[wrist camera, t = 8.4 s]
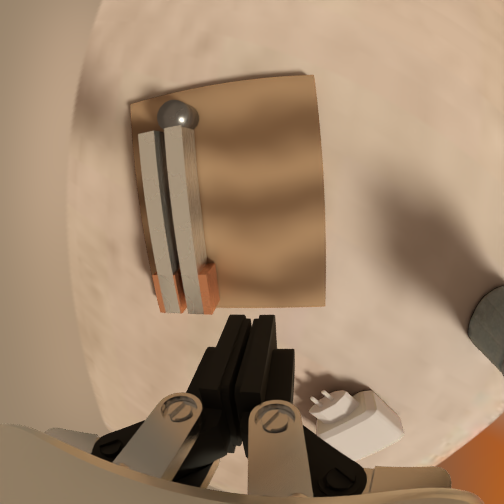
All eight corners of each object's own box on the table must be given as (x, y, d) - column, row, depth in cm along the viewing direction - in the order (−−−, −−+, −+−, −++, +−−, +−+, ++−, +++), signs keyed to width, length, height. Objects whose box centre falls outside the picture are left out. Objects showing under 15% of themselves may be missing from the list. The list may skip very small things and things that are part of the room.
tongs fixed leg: (148, 137, 25) (132, 135, 22) (170, 132, 25) (155, 130, 22) (171, 299, 30) (160, 312, 27) (192, 299, 30) (182, 313, 27)
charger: (346, 362, 31) (399, 413, 33) (288, 396, 34) (348, 440, 36) (351, 388, 27) (405, 437, 29) (285, 423, 30) (350, 464, 32)
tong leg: (170, 108, 24) (156, 103, 21) (200, 102, 23) (188, 96, 21) (192, 299, 30) (182, 313, 27) (220, 300, 29) (212, 314, 26)
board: (136, 105, 26) (130, 104, 24) (313, 78, 23) (313, 74, 21) (162, 300, 32) (158, 305, 31) (324, 300, 29) (325, 306, 28)
